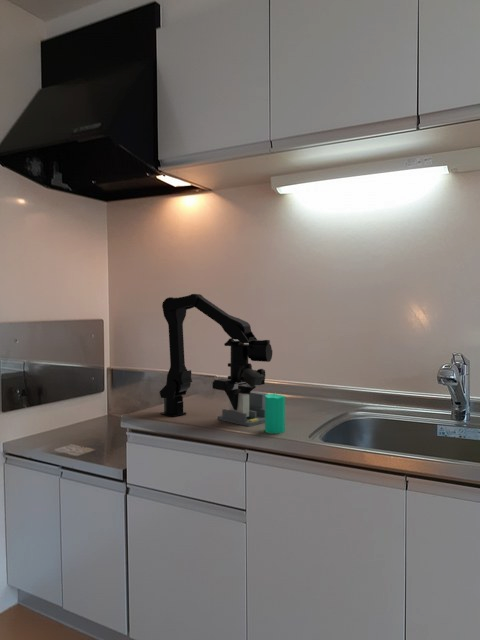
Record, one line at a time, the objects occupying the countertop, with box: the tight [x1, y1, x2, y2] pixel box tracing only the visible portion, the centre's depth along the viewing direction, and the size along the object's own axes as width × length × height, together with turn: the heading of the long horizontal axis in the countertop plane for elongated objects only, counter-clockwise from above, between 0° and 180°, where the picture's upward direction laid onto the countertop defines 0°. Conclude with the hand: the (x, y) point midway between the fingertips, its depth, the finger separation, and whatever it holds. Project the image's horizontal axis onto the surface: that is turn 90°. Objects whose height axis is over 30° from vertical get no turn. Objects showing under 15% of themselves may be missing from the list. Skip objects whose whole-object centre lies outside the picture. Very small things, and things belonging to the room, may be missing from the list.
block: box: [229, 393, 249, 417], centre depth 159 cm, size 6×3×7 cm, turn 46°
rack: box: [217, 391, 269, 427], centre depth 162 cm, size 14×15×8 cm
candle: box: [264, 393, 286, 434], centre depth 147 cm, size 6×6×12 cm
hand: (239, 408), depth 159 cm, fingers open, 3 cm apart
